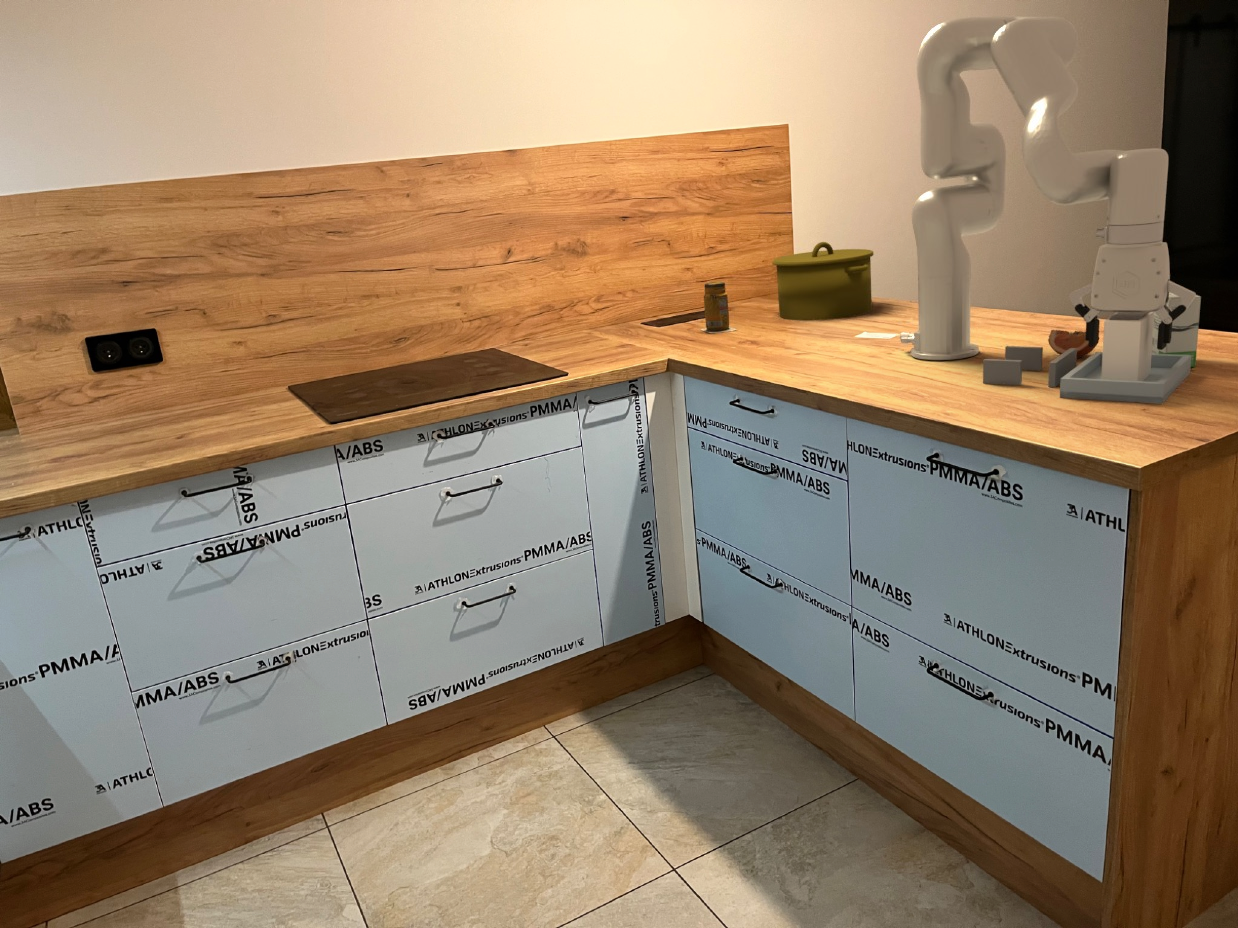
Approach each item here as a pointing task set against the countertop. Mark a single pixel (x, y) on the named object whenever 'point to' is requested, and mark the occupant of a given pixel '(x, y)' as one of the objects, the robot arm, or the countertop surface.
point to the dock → (1026, 365)
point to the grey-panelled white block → (1127, 346)
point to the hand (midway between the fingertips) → (1126, 346)
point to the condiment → (716, 308)
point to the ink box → (1180, 330)
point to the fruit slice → (1069, 342)
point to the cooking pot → (824, 283)
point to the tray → (1152, 389)
